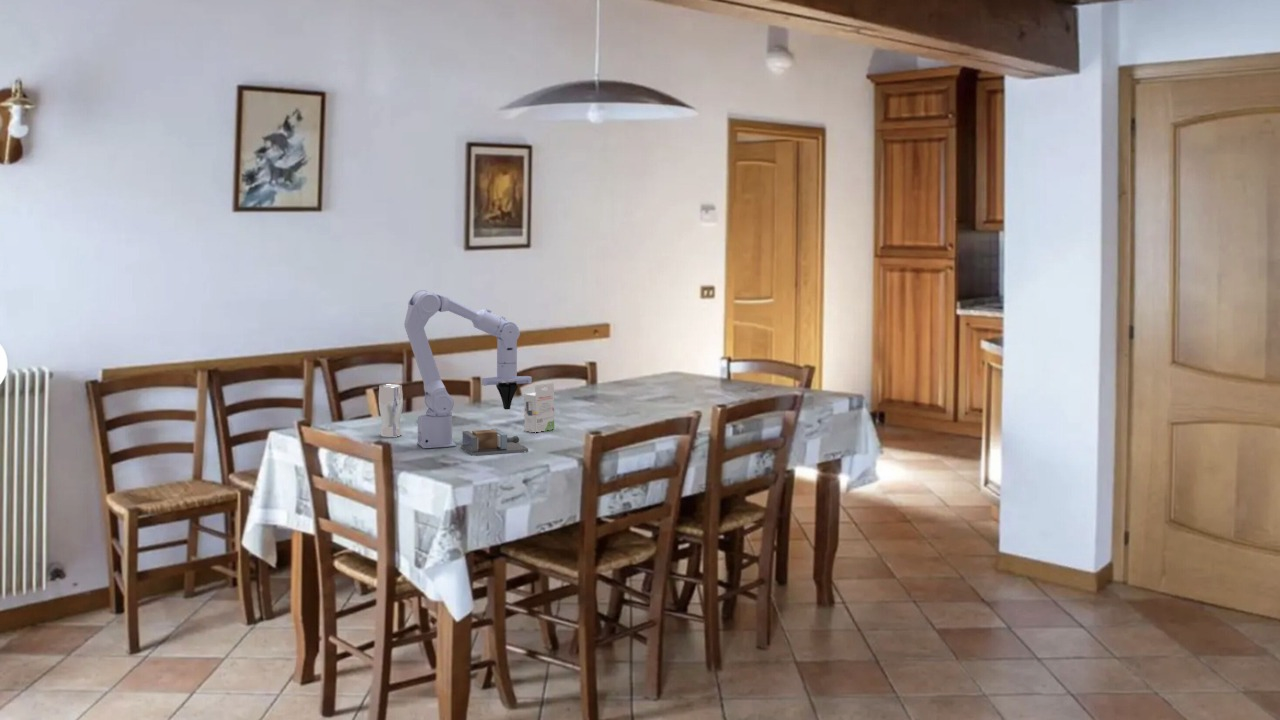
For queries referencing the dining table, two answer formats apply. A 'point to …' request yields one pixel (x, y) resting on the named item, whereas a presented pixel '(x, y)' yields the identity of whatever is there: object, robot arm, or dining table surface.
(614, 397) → the dining table surface
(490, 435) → the block
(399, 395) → the beer glass
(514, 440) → the slide jaw
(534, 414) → the ink box
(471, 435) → the vise
